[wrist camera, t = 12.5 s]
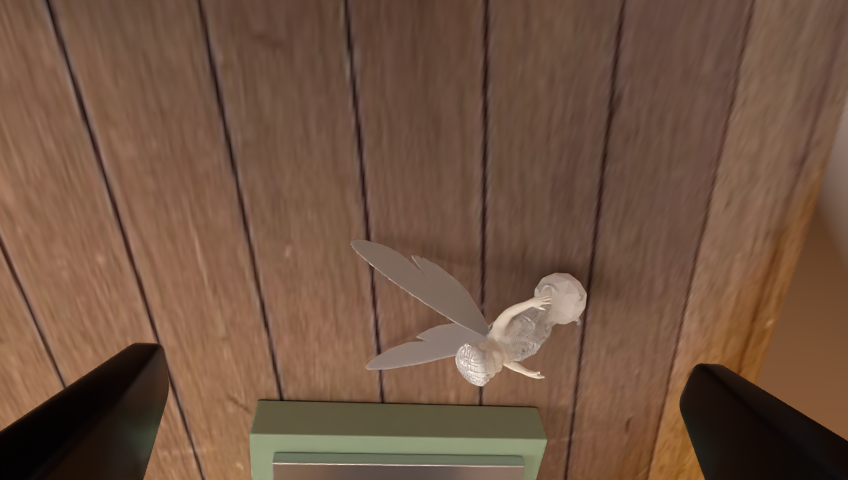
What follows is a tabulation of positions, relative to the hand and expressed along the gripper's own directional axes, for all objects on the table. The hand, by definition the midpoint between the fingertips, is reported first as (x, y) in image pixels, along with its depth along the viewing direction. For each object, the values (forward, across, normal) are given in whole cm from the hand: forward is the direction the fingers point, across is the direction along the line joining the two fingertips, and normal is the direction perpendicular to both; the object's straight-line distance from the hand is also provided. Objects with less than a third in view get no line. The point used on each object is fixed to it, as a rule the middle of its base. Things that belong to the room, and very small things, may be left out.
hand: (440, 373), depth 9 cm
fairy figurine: (+12, -3, +6) cm, 14 cm away
